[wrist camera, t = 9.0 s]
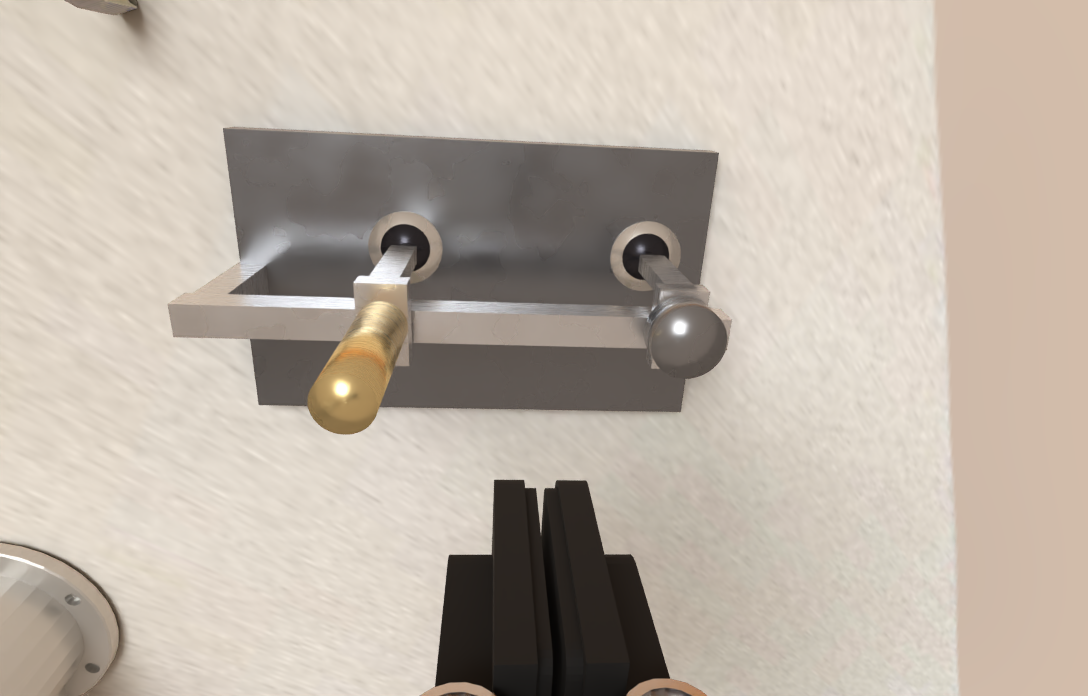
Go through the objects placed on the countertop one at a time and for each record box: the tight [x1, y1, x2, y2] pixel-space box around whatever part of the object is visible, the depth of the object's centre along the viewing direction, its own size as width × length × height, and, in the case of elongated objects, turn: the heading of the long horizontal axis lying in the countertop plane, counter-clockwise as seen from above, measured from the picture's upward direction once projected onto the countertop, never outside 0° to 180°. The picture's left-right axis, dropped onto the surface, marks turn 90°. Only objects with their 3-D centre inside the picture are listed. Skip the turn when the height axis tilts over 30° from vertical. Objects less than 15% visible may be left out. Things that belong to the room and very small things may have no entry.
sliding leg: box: [308, 243, 417, 434], centre depth 25 cm, size 3×2×14 cm, turn 177°
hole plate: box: [223, 127, 719, 412], centre depth 33 cm, size 14×23×1 cm, turn 87°
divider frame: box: [168, 252, 732, 379], centre depth 29 cm, size 3×23×10 cm, turn 87°
